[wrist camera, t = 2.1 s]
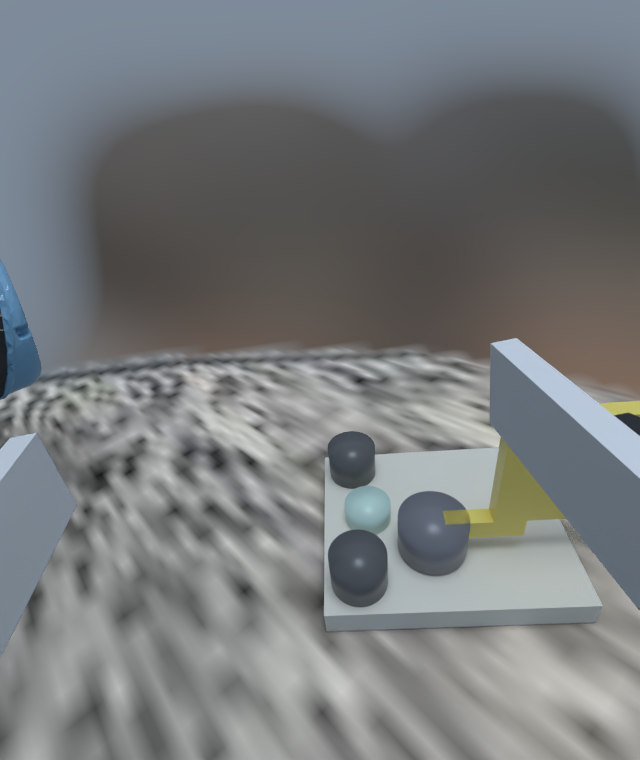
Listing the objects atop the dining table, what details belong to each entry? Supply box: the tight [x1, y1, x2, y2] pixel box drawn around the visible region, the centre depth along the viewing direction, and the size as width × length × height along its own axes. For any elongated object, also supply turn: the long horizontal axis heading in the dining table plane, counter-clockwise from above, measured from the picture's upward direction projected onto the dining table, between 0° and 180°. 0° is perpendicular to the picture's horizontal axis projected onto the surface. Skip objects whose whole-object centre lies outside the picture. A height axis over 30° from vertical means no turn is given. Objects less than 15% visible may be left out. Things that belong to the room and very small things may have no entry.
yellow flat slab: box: [398, 401, 640, 575], centre depth 31 cm, size 14×5×12 cm, turn 89°
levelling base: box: [324, 431, 603, 631], centre depth 37 cm, size 18×15×5 cm
